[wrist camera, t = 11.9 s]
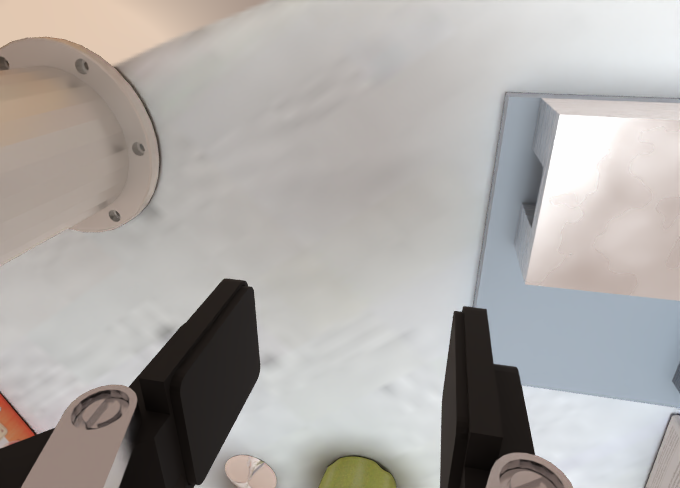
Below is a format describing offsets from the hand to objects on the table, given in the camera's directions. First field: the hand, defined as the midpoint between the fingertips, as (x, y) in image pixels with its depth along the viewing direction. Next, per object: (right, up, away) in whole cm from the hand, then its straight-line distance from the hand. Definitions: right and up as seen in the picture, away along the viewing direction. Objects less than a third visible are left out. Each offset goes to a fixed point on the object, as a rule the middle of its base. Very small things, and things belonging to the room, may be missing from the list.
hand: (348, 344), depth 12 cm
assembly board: (+18, +2, +15) cm, 24 cm away
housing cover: (+13, +6, +12) cm, 19 cm away
